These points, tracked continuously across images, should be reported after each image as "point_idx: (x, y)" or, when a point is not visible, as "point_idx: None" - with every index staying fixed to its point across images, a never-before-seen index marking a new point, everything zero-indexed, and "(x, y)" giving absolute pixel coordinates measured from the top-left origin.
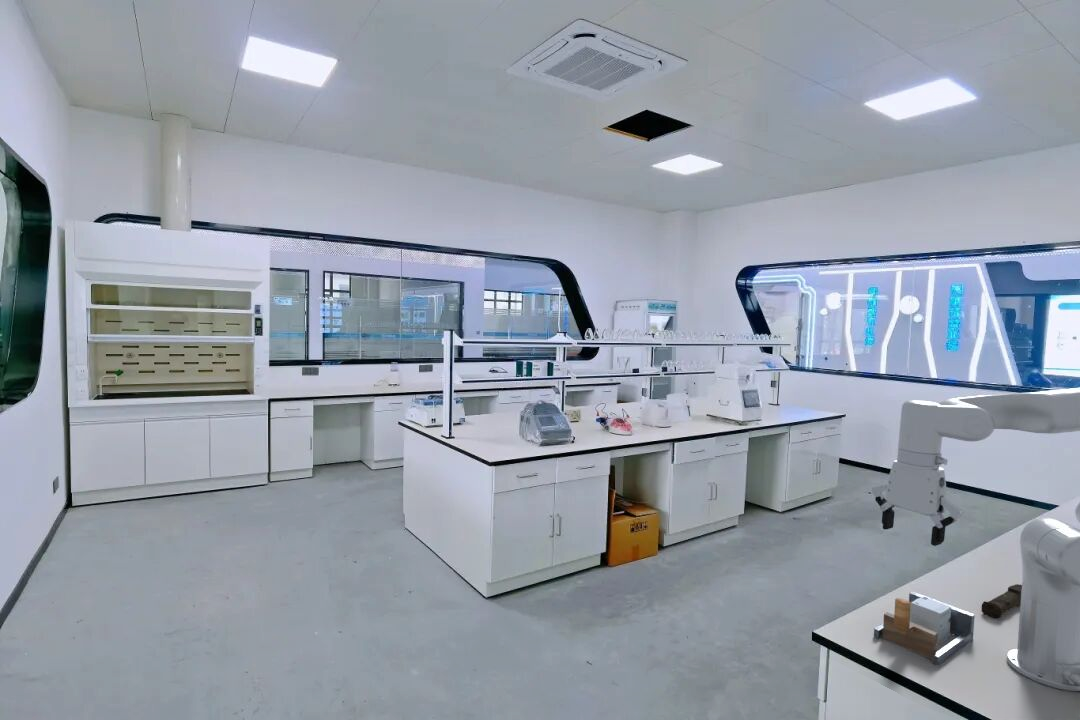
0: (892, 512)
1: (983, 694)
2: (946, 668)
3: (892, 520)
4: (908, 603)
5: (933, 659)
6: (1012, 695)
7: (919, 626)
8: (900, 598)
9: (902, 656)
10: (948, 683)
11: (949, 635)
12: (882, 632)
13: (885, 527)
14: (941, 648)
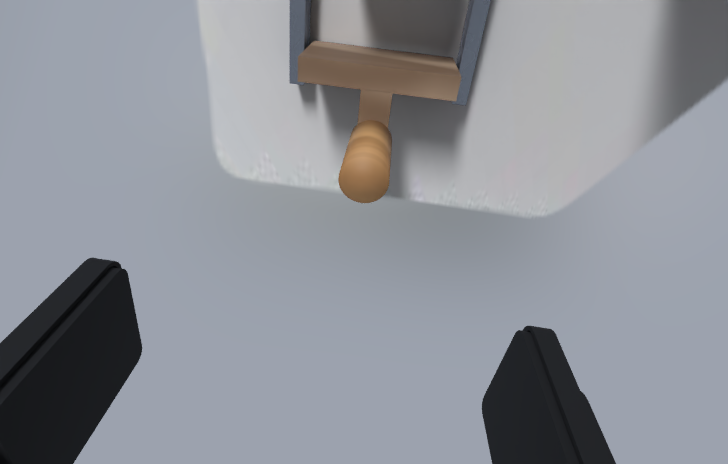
0: (14, 443)
1: (564, 144)
2: (481, 88)
3: (82, 340)
4: (382, 182)
5: None
6: (629, 91)
7: (406, 78)
8: (348, 161)
9: None
10: (493, 159)
11: None
12: None
13: (128, 367)
14: (465, 40)
